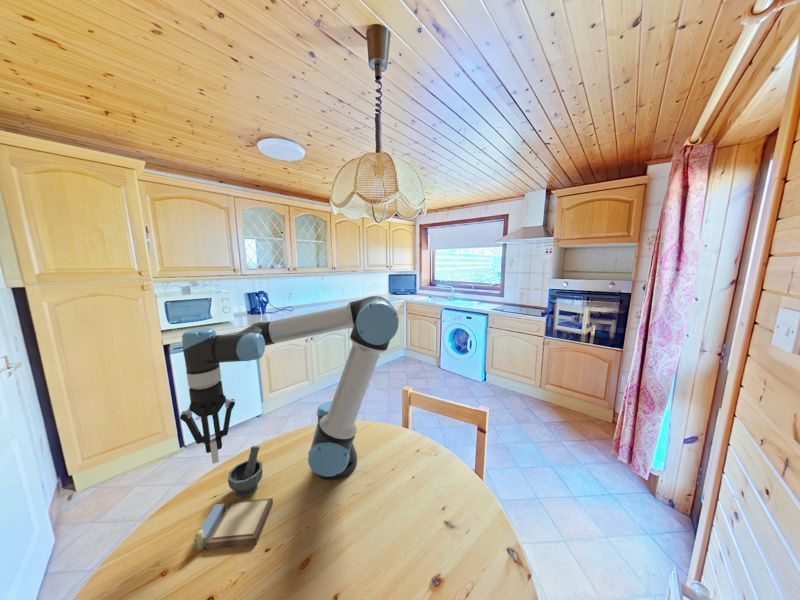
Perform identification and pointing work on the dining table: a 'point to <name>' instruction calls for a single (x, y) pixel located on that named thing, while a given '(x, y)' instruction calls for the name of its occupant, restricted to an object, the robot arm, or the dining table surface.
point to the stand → (240, 524)
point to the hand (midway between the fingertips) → (215, 460)
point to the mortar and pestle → (246, 475)
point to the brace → (209, 526)
